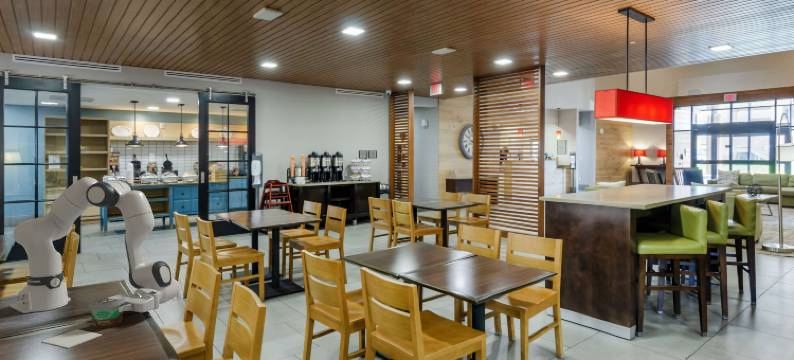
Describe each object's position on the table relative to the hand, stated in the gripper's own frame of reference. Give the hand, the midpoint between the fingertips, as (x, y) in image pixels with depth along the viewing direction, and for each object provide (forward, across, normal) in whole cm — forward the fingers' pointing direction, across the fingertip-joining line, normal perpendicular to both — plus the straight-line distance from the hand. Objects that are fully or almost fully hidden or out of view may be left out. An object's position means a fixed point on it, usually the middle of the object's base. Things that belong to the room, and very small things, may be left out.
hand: (112, 308), depth 177 cm
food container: (+2, 0, +6) cm, 7 cm away
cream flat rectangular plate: (+15, 0, +6) cm, 16 cm away
